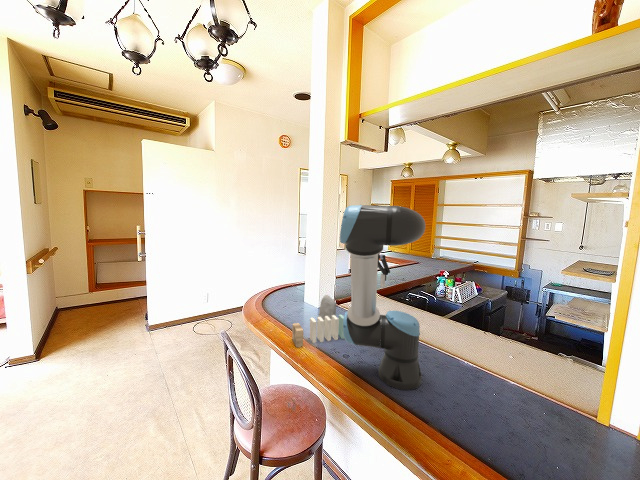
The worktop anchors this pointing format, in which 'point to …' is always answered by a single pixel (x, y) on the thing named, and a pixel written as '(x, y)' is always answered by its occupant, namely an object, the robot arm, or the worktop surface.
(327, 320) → the domino
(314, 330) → the domino
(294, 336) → the end block
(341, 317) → the domino
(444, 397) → the worktop surface
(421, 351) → the worktop surface
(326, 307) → the decorative stone
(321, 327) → the domino
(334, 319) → the domino
